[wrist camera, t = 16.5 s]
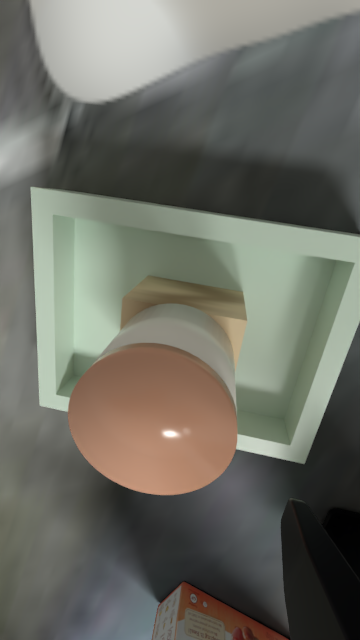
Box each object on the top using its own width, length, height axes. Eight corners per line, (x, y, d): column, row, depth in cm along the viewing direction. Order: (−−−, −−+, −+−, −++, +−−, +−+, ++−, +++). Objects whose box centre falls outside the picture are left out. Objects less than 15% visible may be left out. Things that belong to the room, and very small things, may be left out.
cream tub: (247, 317, 14) (257, 376, 9) (220, 420, 16) (217, 511, 12) (121, 292, 15) (69, 336, 10) (112, 396, 17) (66, 473, 12)
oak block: (243, 291, 19) (247, 320, 14) (224, 375, 21) (222, 423, 16) (148, 275, 19) (122, 298, 15) (139, 358, 22) (115, 400, 17)
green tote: (360, 234, 18) (390, 241, 14) (293, 427, 23) (304, 464, 20) (64, 189, 19) (30, 186, 16) (64, 378, 24) (39, 405, 21)
